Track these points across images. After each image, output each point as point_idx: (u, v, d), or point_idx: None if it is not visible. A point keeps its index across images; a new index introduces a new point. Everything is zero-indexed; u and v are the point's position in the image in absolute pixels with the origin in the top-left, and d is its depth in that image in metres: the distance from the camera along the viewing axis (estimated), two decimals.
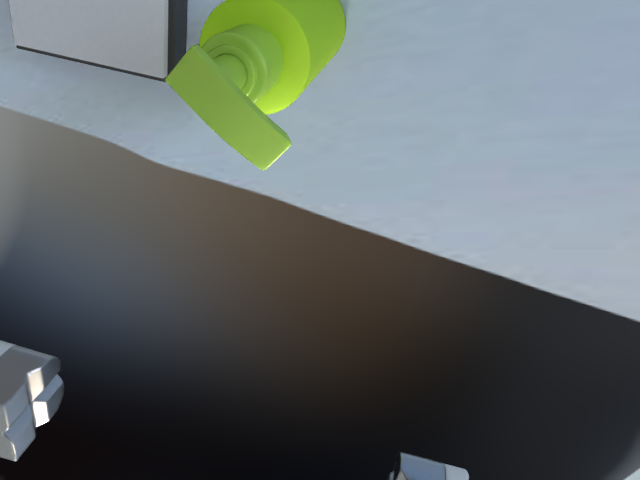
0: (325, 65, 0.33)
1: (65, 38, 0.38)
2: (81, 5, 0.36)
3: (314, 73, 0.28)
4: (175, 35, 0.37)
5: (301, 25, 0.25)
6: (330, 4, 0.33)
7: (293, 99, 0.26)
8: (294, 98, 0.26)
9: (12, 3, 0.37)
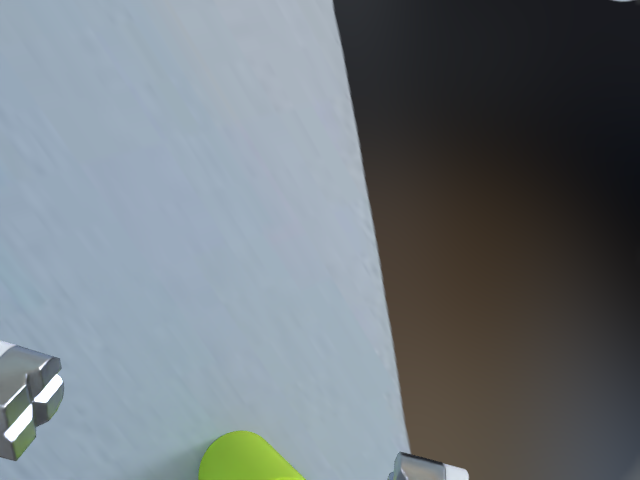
0: (260, 444, 0.35)
1: None
2: None
3: (268, 466, 0.29)
4: None
5: None
6: (209, 465, 0.35)
7: None
8: None
9: None
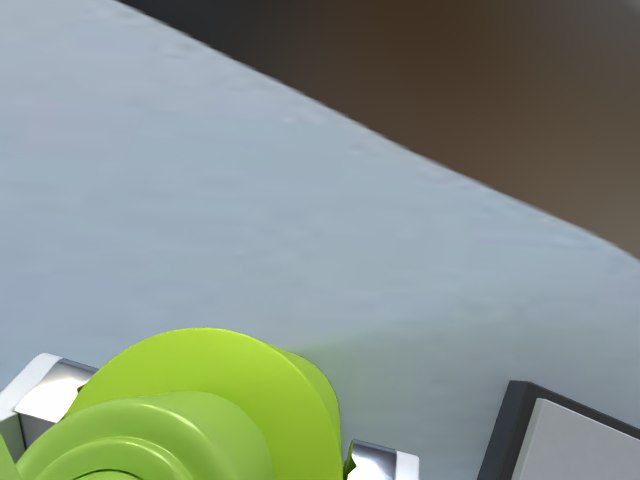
0: None
1: None
2: None
3: None
4: (499, 465, 0.20)
5: None
6: None
7: (126, 352, 0.10)
8: (122, 354, 0.10)
9: None
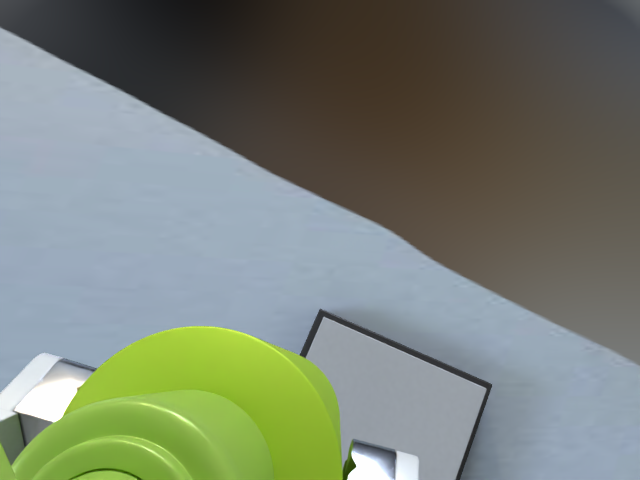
0: None
1: (419, 380, 0.34)
2: (385, 407, 0.34)
3: None
4: None
5: None
6: None
7: (124, 351, 0.10)
8: (121, 353, 0.10)
9: (467, 429, 0.33)
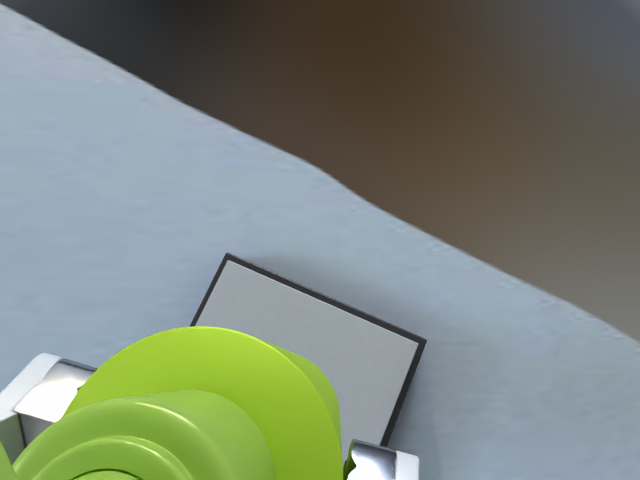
0: None
1: (339, 334, 0.29)
2: None
3: None
4: (200, 305, 0.30)
5: None
6: None
7: (125, 351, 0.10)
8: (122, 353, 0.10)
9: (394, 391, 0.28)
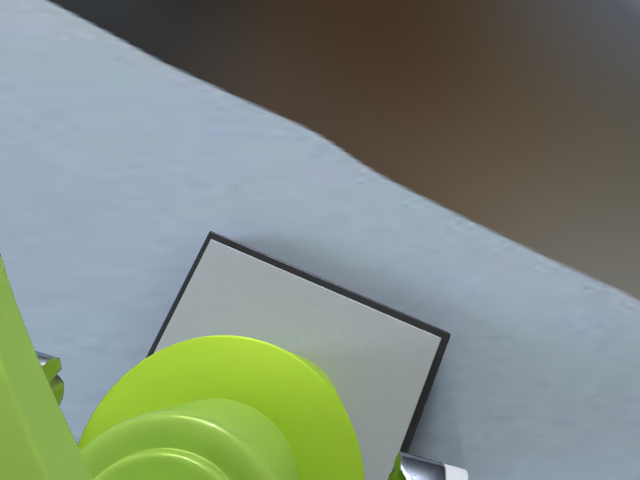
0: None
1: (344, 327, 0.24)
2: None
3: None
4: (178, 294, 0.25)
5: None
6: None
7: (149, 360, 0.11)
8: (145, 362, 0.11)
9: (412, 396, 0.23)
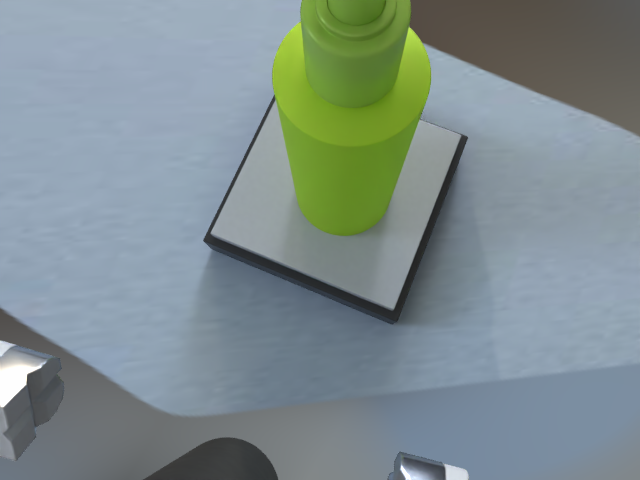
0: None
1: None
2: None
3: None
4: (265, 114, 0.34)
5: (277, 102, 0.19)
6: (296, 189, 0.28)
7: None
8: None
9: (441, 173, 0.31)
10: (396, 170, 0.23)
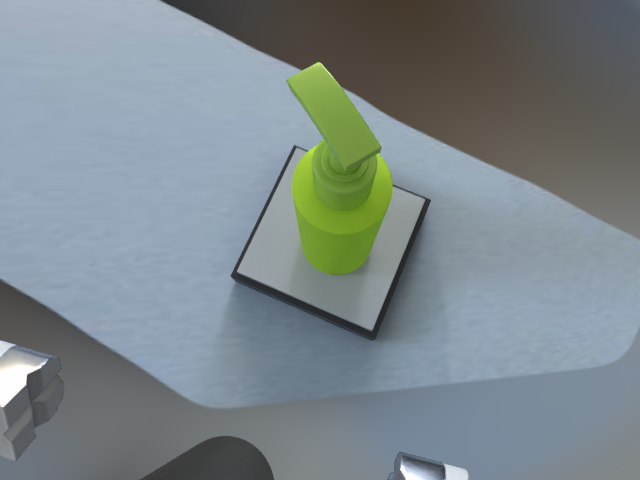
0: None
1: None
2: None
3: None
4: (277, 179, 0.44)
5: (294, 202, 0.29)
6: (302, 243, 0.38)
7: (316, 146, 0.30)
8: (315, 147, 0.30)
9: (409, 228, 0.42)
10: (372, 239, 0.33)
